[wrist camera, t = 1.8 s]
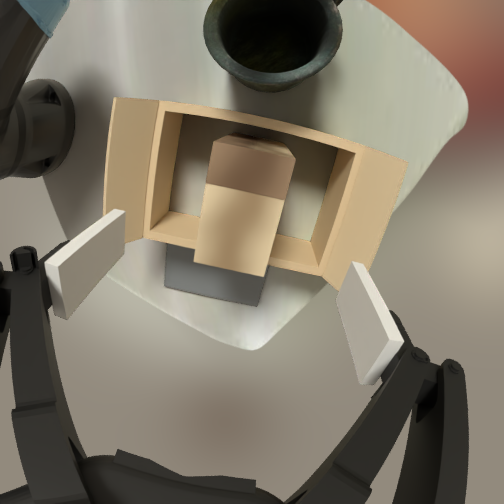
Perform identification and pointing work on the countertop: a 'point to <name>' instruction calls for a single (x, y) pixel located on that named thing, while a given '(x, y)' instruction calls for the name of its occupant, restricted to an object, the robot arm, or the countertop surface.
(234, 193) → the block
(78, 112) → the countertop surface
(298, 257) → the carton
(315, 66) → the mug
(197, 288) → the mat
